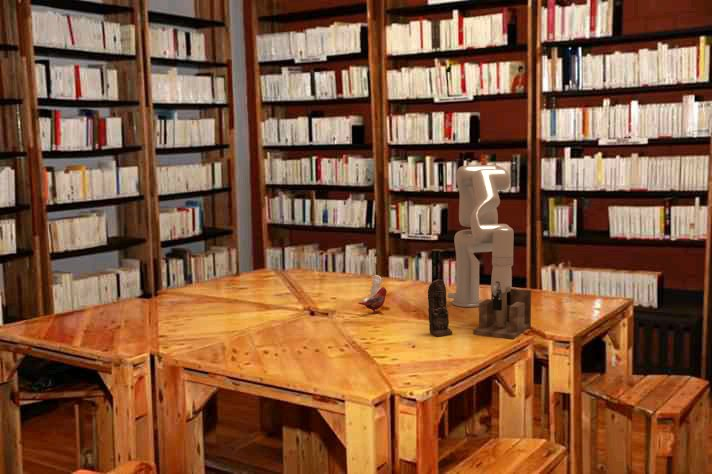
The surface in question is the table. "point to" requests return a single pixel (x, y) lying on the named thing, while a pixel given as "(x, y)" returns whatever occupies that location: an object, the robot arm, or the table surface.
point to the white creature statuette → (374, 286)
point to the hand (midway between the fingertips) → (501, 307)
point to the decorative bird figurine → (375, 300)
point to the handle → (502, 315)
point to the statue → (438, 309)
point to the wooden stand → (515, 320)
